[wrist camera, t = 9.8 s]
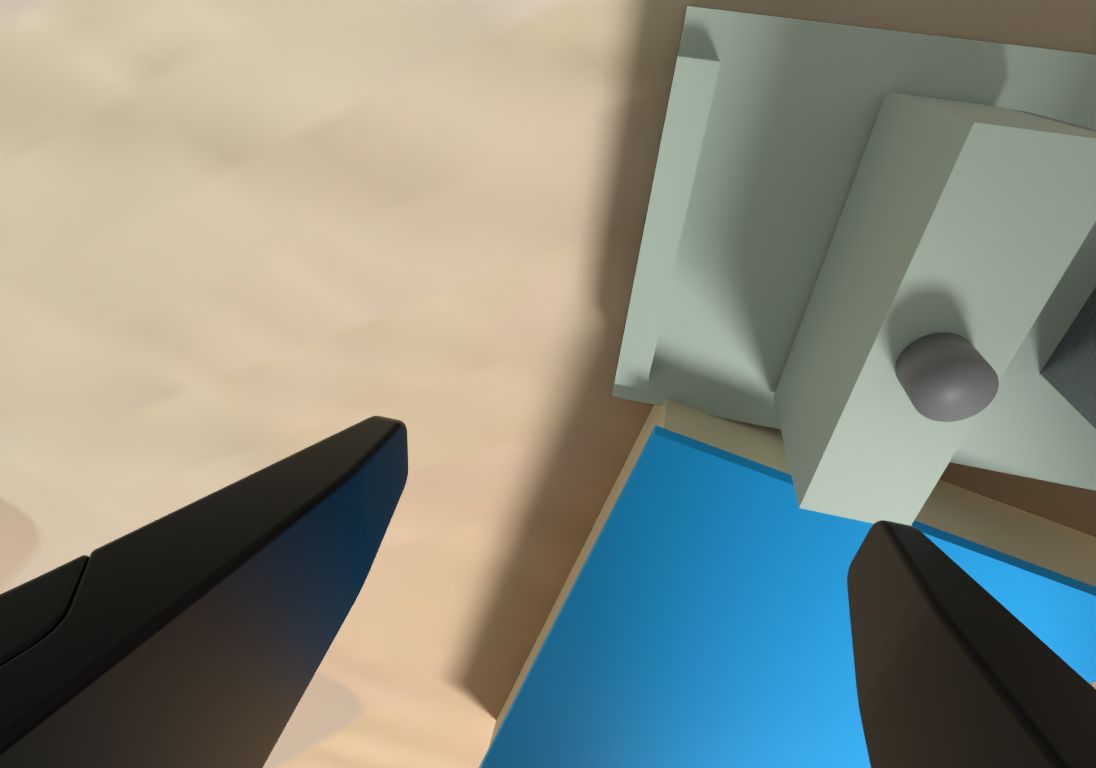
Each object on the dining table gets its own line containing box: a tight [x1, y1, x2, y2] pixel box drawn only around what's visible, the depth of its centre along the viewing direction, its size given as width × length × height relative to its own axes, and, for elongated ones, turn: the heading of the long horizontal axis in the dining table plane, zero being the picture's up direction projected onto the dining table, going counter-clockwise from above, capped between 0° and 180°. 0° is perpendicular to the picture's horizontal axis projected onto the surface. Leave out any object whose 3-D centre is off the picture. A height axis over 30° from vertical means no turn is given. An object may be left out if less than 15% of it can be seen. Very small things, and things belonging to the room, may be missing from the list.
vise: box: [612, 6, 1096, 491], centre depth 14 cm, size 20×11×6 cm, turn 84°
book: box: [479, 399, 1096, 768], centre depth 26 cm, size 17×4×25 cm
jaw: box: [773, 92, 1096, 526], centre depth 13 cm, size 3×9×6 cm, turn 174°
